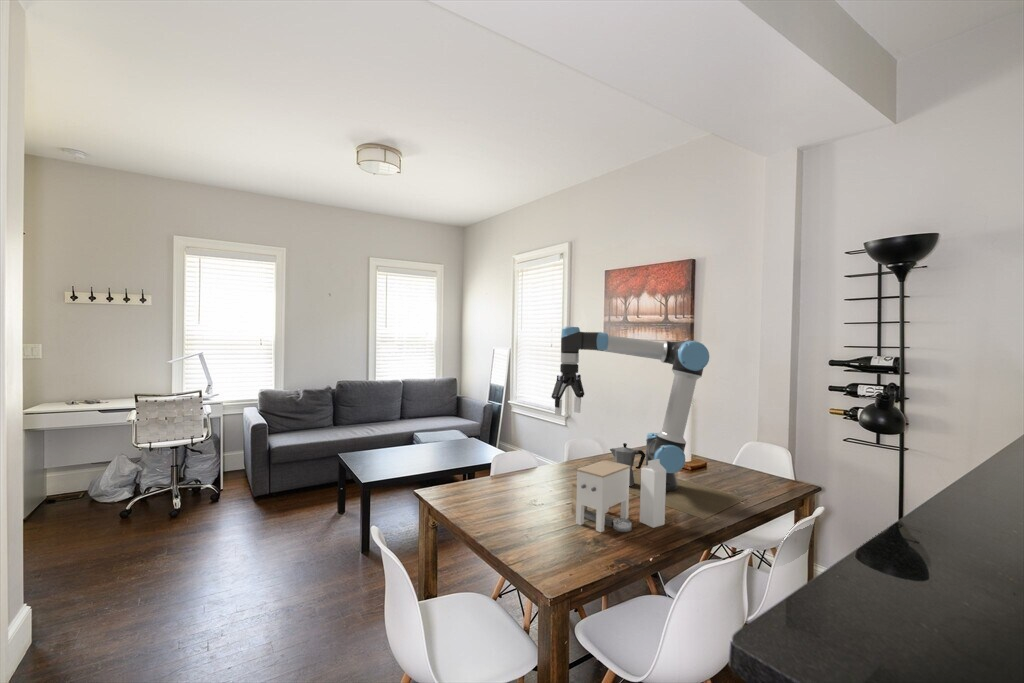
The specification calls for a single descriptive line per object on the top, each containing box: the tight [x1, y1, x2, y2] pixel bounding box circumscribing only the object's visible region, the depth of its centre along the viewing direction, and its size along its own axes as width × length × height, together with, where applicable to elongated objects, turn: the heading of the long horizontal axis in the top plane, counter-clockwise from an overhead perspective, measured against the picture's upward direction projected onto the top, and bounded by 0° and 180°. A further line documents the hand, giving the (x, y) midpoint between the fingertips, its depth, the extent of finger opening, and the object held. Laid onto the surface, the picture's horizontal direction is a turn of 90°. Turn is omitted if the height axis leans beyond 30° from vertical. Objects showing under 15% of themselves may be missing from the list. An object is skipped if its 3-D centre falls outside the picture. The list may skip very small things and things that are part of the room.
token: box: [612, 517, 633, 533], centre depth 152 cm, size 6×6×2 cm
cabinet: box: [575, 459, 631, 533], centre depth 158 cm, size 19×10×19 cm, turn 137°
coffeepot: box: [609, 443, 646, 487], centre depth 200 cm, size 15×9×18 cm, turn 70°
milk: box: [639, 459, 667, 529], centre depth 157 cm, size 6×6×22 cm
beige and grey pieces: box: [571, 481, 615, 528], centre depth 159 cm, size 4×16×11 cm, turn 47°
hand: (567, 413), depth 191 cm, fingers open, 13 cm apart
